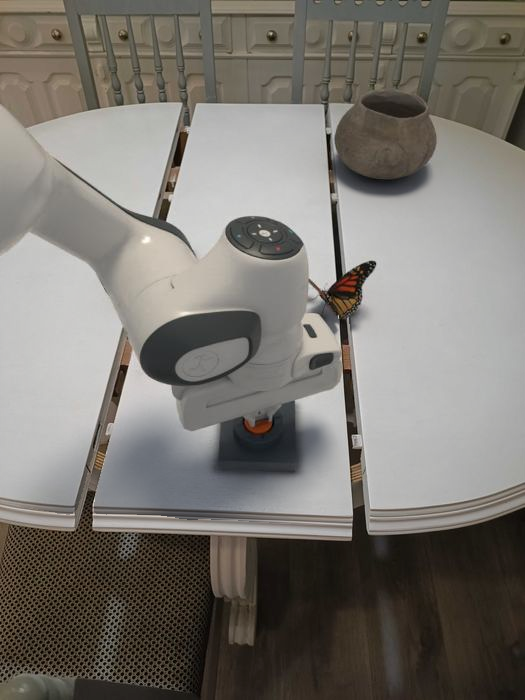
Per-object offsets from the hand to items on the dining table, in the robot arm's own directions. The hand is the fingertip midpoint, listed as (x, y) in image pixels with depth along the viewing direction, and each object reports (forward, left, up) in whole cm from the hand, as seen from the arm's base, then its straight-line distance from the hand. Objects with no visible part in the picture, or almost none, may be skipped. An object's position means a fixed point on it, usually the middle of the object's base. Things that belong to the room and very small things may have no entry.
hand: (259, 420), depth 69 cm
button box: (0, 0, -4) cm, 4 cm away
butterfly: (+20, +19, -4) cm, 28 cm away
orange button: (0, 0, -2) cm, 2 cm away
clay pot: (+50, +56, -4) cm, 75 cm away
